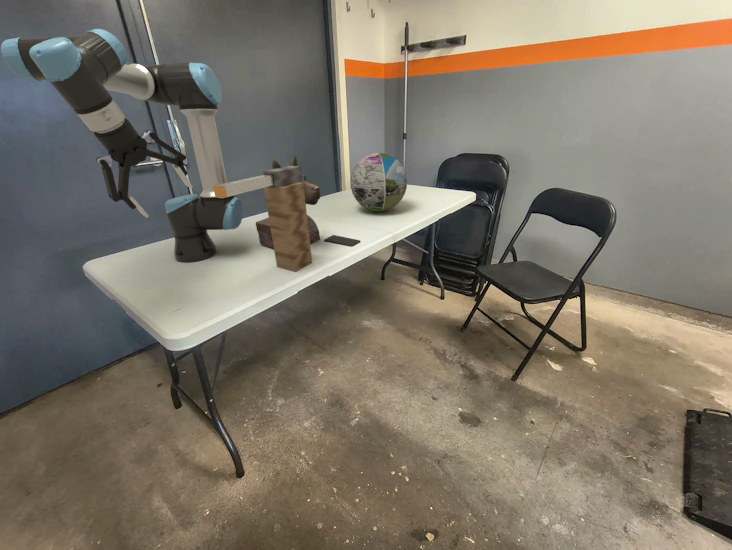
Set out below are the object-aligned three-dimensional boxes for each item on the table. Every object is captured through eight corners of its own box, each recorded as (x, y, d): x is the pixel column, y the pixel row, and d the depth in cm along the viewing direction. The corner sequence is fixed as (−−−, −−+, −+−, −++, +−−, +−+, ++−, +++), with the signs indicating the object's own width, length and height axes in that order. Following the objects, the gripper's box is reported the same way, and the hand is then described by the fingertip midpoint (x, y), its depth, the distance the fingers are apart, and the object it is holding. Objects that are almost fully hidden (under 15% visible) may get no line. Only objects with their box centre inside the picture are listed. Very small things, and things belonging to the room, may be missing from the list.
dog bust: (309, 259, 124) (297, 162, 109) (259, 245, 138) (242, 158, 122) (338, 243, 138) (332, 155, 122) (290, 232, 152) (279, 153, 136)
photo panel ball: (397, 220, 164) (398, 157, 150) (343, 216, 174) (339, 156, 160) (412, 205, 189) (414, 150, 175) (363, 202, 199) (362, 149, 185)
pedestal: (293, 273, 114) (279, 172, 98) (275, 267, 118) (258, 170, 103) (315, 260, 123) (305, 166, 107) (297, 256, 127) (285, 165, 112)
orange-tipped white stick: (222, 198, 87) (219, 186, 86) (215, 197, 89) (212, 186, 87) (283, 182, 105) (282, 172, 103) (276, 181, 106) (275, 172, 105)
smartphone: (352, 246, 134) (323, 239, 141) (352, 248, 134) (323, 241, 141) (361, 240, 139) (333, 234, 146) (361, 242, 140) (333, 236, 147)
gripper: (58, 159, 65) (132, 234, 82) (167, 102, 75) (213, 179, 92) (45, 149, 68) (119, 222, 85) (152, 96, 78) (198, 171, 95)
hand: (168, 200), depth 88 cm, fingers open, 13 cm apart
